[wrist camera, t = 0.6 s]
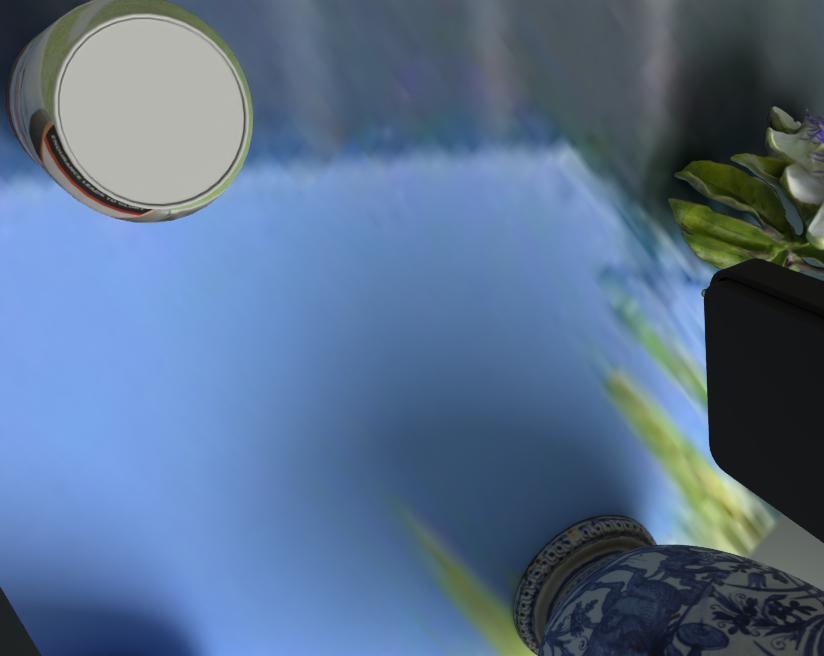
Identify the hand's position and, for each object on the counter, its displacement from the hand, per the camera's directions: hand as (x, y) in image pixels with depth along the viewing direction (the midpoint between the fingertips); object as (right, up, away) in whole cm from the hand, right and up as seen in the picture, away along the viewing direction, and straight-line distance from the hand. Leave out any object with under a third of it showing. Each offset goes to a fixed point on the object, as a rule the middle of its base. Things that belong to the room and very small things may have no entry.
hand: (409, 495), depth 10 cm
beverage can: (-12, +11, +20) cm, 26 cm away
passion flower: (+19, +9, +34) cm, 40 cm away
